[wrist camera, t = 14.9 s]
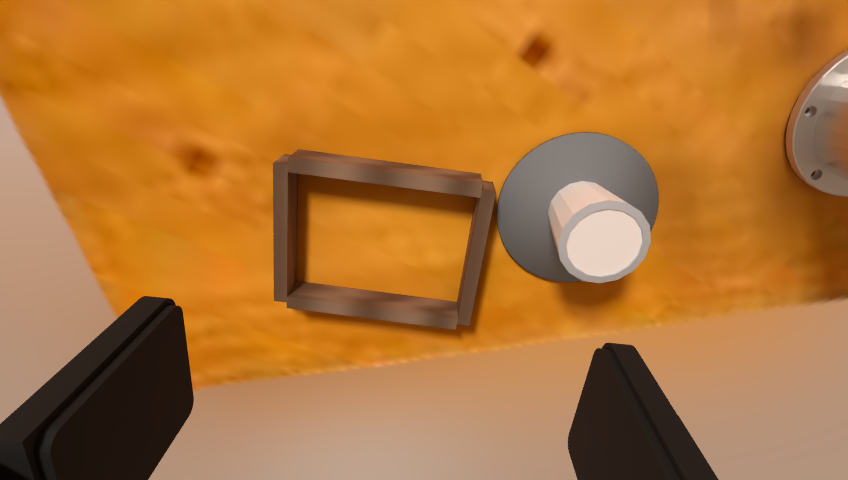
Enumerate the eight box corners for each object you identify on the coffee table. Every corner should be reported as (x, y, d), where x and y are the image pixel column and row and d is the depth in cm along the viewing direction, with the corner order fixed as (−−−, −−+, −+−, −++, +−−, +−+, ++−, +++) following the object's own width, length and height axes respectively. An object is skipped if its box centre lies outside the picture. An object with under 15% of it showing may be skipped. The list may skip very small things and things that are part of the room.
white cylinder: (556, 257, 43) (575, 296, 37) (529, 193, 41) (545, 223, 35) (629, 229, 42) (662, 264, 36) (606, 160, 40) (637, 185, 33)
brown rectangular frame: (493, 175, 41) (497, 186, 38) (467, 313, 47) (468, 331, 44) (284, 147, 41) (273, 155, 38) (284, 290, 47) (274, 306, 44)
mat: (679, 144, 39) (681, 145, 39) (628, 288, 45) (630, 290, 45) (514, 121, 39) (514, 122, 39) (484, 269, 45) (484, 271, 44)
